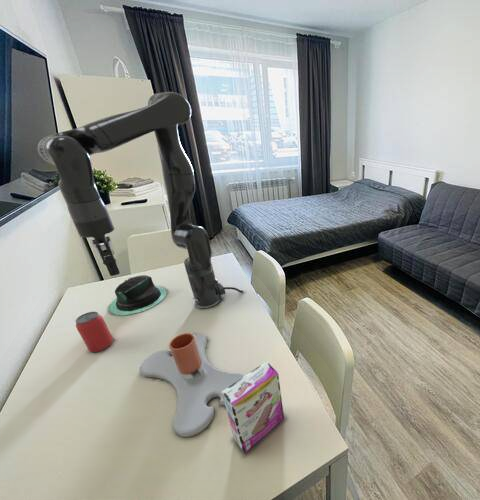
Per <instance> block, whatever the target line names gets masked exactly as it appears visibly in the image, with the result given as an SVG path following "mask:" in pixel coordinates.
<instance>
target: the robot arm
mask: <svg viewBox="0 0 480 500" xmlns="http://www.w3.org/2000/svg"><path fill="white" fill-rule="evenodd" d="M191 116H192V108H191V105H190V102H189V101H188V100H187V98H185V96H183V95H181V94H180V93H177V92H174V91H164V92H156V93H154V94H152V95H150V97H149V98H148V101H147V105H145V106H143V107H140V108H137V109H135V110H130V111H125V112H121V113H116V114H112V115H110V116H106V117H103V118H99V119H97V120H94V121H92V122H89V123H86V124H84V125H82V126H80V127H76V128H73V129H72V128H71V129H69V130H65V131H61V132H57V133H53V134H50V135H47V136H45V137H43V138H42V139H40V140H39V142H38V143H37V152H38V154H39V156H40V157H41V158H42V159H43V160H44V161H45V162H47V163H49V164H51V165H53V166H55V168H56V171H57V173H58V176H59V180H58V184H57V185H58V188H59V190H60V194H61V195H62V198H63V199H64V202H65V204H66V206H67V211H68V214H69V215H70V218H71V220H72V222H73V224H74V227H75V228H76V231H77V233H78V235H79V236H80V237H81V238H93V239H91V242H92V243H91V244H92V246H93V248H94V249H95V251H96V253H97V255H98V257H99V258H101V260H102V264H103V265H104V266H106V269H107V271H108V273H109V276H111V277H114V276H117V275H120V274H121V271H120V269H119V267H118V264H117V260H116V258H115V256H114V255H115V254H116V253H115V250H114V248H113V243H112V240H111V237H110V235H108V234H111V233H112V232H113V231H114V230H115V227H114V224H113V222H112V218H111V217H110V214H109V210H108V208H107V206H106V205H105V203H104V201H103V199H102V197H101V195H100V191H99V189H98V186H97V185H96V183H95V179H94V171H93V166H92V161H91V157H90V156H92V155H95V154H101V153H106V152H109V151H111V150H114V149H116V148H119V147H121V146H123V145H125V144H128V143H130V142H132V141H134V140H136V139H139V138H141V137H143V136H145V135H147V134H150V133H153V132H154V136H155V139H156V143H157V148H158V153H159V160H160V164H161V169H162V171H161V172H162V176H163V177H162V178H163V182H164V187H165V191H166V198H167V204H168V209H169V219H170V235H171V239H172V240H171V241H172V243H173V245H175V246H176V247H177V248H180V249H183V250H187V254H188V257H186V258H185V259H184V261H183V265H184V268H185V272H186V275H187V279H188V282H189V285H190V289H191V292H192V299H193V300H194V303H195V306H196V307H197V308H199V309H209V308H212V307H215V306H216V305H218V304H219V303H220V302H221V301H223V298H222V297H223V295H226V294H227V292H226V290H233V291H237V292H238V293H242V294H243V293H244V290H241V289H239V288H237V287H234V286H223V285H222V284H221V283H220V282H219V281H218V280H217V278H216V275H215V271H214V268H213V263H212V247H211V243H210V237H209V234H208V232H207V230H206V229H205V228H204V227H203V226H199V225H196V224H195V225H194V224H193V223H192V218H191V204H192V202H193V199H194V195H195V192H196V179H195V174H194V168H193V165H192V164H191V161H190V159H189V157H188V156H187V154H186V153H185V152H186V151H185V150H184V148H183V146H182V144H181V141H180V136H179V130H178V126H182V125H184V124H186V123H187V122H188V121H190V118H191ZM106 235H108V236H106Z"/></svg>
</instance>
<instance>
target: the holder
mask: <svg viewBox="0 0 480 500" xmlns="http://www.w3.org/2000/svg"><path fill="white" fill-rule="evenodd" d="M192 334H193V335H194V337H195V339H196V343H197V346H198V349H199V352H200V355H201V358H202V364H201V366H200V367H199V369H197V370H196V371H195V372H193V373H190V374H181V373H180V372H179V370H178V368H177V365H176V363H175V360H174V358H173V355H172V352H171V350H168V349H165V350H164V349H163V350H159V351H156V352H153V353H151V354H150V355H148V356H147V357H146V358H145V359H143V361H142V363H140V366H139V371H140V374H141V375H142V376H143V377H145V378H156V379H162V380H164V381H166V382H168V383H169V384H171V386H172V387H173V388H174V389H175V391H176V394H177V395H176V396H177V408H176V411H175V415H174V418H173V420H172V427H173V430H174V432H175V433H176V434H177V436H179V437H184V438H188V437H192V436H196V435H197V434H199V433H201V432H202V431H204V430H205V429H206V428H207V427H208V426H209V425H210V423H211V422H212V420H213V418H214V415H215V407H214V406H208V403H209V401H211V400H213V399H214V398H220V400H219V402H218V403H219V406H224V407H225V403H224V399H223V396H222V391H223V390H225V389H226V388H228V387H229V386H231V385H232V384H234V383H235V382H237V381H238V380H239V379H241V378H242V377H244V376H245V375H244V374H243V373H239V372H227V371H223V370H221V369H218V368H216V367H215V366H213V365H212V364H211V363H210V362H209V361H208V360H207V356H206V346H207V343H208V340H207V336H206V335H205V334H203V333H201V332H193V333H192ZM171 355H172V356H171Z"/></svg>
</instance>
